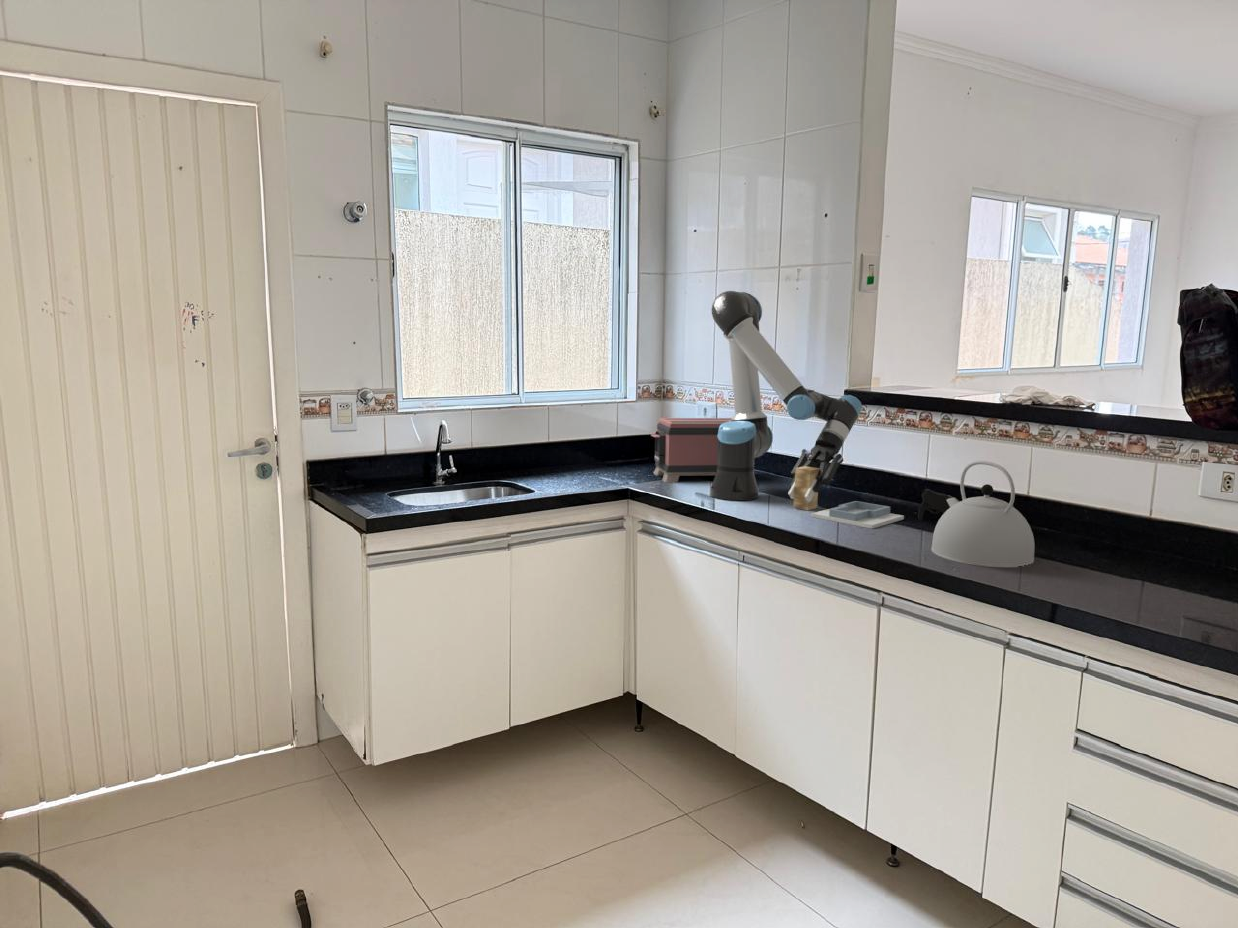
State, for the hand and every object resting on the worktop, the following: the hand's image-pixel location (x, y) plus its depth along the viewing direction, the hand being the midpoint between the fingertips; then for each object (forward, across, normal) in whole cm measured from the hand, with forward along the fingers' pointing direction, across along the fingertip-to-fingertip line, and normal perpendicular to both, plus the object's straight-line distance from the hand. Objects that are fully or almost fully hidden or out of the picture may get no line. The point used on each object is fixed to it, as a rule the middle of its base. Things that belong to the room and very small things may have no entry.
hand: (798, 497), depth 249 cm
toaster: (-11, +55, -17) cm, 59 cm away
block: (0, 0, -5) cm, 5 cm away
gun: (-10, -37, -15) cm, 41 cm away
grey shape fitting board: (0, -18, -5) cm, 18 cm away
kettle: (+9, -57, +4) cm, 58 cm away
